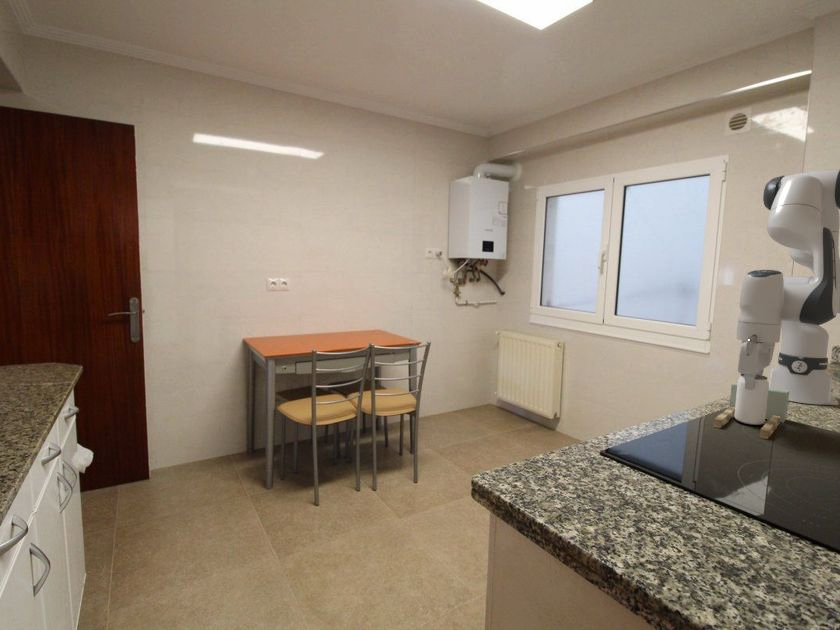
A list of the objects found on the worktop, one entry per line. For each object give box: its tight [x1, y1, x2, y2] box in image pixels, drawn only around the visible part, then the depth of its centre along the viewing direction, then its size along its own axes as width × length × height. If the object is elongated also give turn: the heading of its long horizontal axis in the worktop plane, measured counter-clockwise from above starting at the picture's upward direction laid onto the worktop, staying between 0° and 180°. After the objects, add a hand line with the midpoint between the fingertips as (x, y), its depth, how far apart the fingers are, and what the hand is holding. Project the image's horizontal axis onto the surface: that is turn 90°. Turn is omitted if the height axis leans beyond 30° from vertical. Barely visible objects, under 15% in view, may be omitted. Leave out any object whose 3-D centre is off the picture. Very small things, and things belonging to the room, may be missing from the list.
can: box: [733, 373, 769, 426], centre depth 115 cm, size 6×6×12 cm
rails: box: [712, 406, 781, 440], centre depth 114 cm, size 17×11×2 cm, turn 133°
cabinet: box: [729, 381, 789, 424], centre depth 122 cm, size 5×12×8 cm, turn 43°
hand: (752, 386), depth 115 cm, fingers closed on can, 6 cm apart
